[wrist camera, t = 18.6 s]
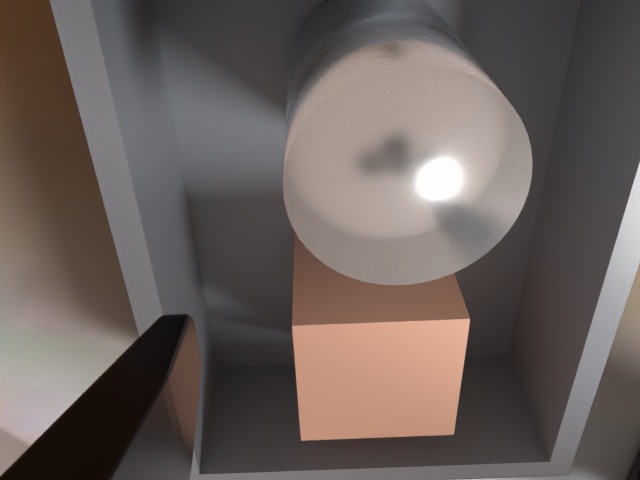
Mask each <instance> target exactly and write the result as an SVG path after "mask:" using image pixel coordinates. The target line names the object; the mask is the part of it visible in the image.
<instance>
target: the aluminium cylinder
mask: <svg viewBox="0 0 640 480" xmlns="http://www.w3.org/2000/svg"><path fill="white" fill-rule="evenodd" d="M532 165H533V162H532V151H531V145H530V141H529V137H528V134H527V131H526V129H525V127H524V124H523V122H522V120H521V118H520V117H519V115H518V114H517V112H516V111H515V109H514V108H513V106H512V105H511V104H510V103H509V101H508V100H507V99H506V98H505V96H504V95H503V94H502V92H501V91H500V90H499V89H498V87H497V86H496V85H495V84H494V82H493V81H492V80H491V79H490V77H489V76H488V75H487V74H486V72H485V71H484V70H483V69H482V67H481V66H480V65H479V64H478V62H477V61H476V60H475V58H474V57H473V56H472V55H471V53H470V52H469V51H468V50H467V48H466V47H465V46H464V45H463V43H462V42H461V41H460V40H459V38H458V37H457V36H456V35H455V33H454V32H453V31H452V30H451V28H450V27H449V26H448V24H447V23H446V22H445V21H444V19H443V18H442V17H441V16H440V14H439V13H438V12H437V11H436V10H435V9H434V8H433V7H432V6H431V5H430V4H429V3H428V2H427V1H425V0H326V1H324V2H323V3H322V4H321V5H320V6H318V7H317V8H316V9H315V10H314V11H313V12H312V13H311V14H310V15H309V17H308V18H307V19H306V20H305V22H304V23H303V25H302V26H301V28H300V30H299V32H298V33H297V35H296V37H295V40H294V43H293V45H292V48H291V52H290V57H289V65H288V82H287V104H286V127H285V149H284V172H283V194H284V202H285V207H286V212H287V215H288V217H289V220H290V223H291V225H292V227H293V229H294V231H295V233H296V234H297V236H298V238H299V239H300V240H301V242H302V243H303V244H304V246H305V247H306V248H307V249H308V250H309V251H310V252H311V253H312V254H313V255H314V256H315V257H316V258H317V259H319V260H320V261H321V262H322V263H324V264H325V265H326V266H328V267H330V268H332V269H333V270H335V271H337V272H339V273H341V274H343V275H346V276H348V277H350V278H353V279H357V280H360V281H363V282H368V283H374V284H381V285H410V284H418V283H424V282H428V281H432V280H436V279H439V278H442V277H445V276H448V275H450V274H453V273H455V272H457V271H459V270H461V269H463V268H465V267H467V266H468V265H470V264H472V263H473V262H475V261H477V260H478V259H479V258H481V257H482V256H483V255H485V254H486V253H488V252H489V251H490V250H491V249H492V248H493V247H494V246H495V245H496V244H497V243H498V242H499V241H500V240H501V239H502V238H503V237H504V236H505V235H506V233H507V232H508V231H509V230H510V228H511V227H512V225H513V224H514V222H515V221H516V219H517V218H518V216H519V214H520V212H521V210H522V208H523V206H524V204H525V201H526V198H527V195H528V192H529V188H530V183H531V178H532Z"/></svg>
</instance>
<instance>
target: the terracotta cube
mask: <svg viewBox="0 0 640 480" xmlns="http://www.w3.org/2000/svg"><path fill="white" fill-rule="evenodd" d="M469 325H470V317H469V314H468V311H467V308H466V305H465V302H464V299H463V297H462V294H461V291H460V288H459V285H458V282H457V279H456V276H455V274H454V273H453V274H450V275H448V276H445V277H442V278H439V279H436V280H432V281H428V282H424V283H418V284H410V285H381V284H374V283H368V282H363V281H360V280H357V279H353V278H350V277H348V276H346V275H343V274H341V273H339V272H337V271H335V270H333V269H332V268H330V267H328V266H326V265H325V264H324V263H322V262H321V261H320V260H319V259H317V258H316V257H315V256H314V255H313V254H312V253H311V252H310V251H309V250H308V249H307V248H306V247H305V246H304V244H303V243H302V242H301V240H300V239H299V238H298V236H297V234H296V233H295V234H294V272H293V309H292V332H293V344H294V357H295V370H296V383H297V396H298V408H299V421H300V434H301V441H305V440H331V439H357V438H382V437H408V436H434V435H454V430H455V423H456V416H457V409H458V402H459V395H460V388H461V381H462V374H463V367H464V360H465V353H466V346H467V339H468V332H469Z"/></svg>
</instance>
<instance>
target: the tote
mask: <svg viewBox="0 0 640 480" xmlns="http://www.w3.org/2000/svg"><path fill="white" fill-rule="evenodd" d="M324 1H326V0H50V4H51V8H52V11H53V15H54V19H55V23H56V26H57V30H58V34H59V38H60V41H61V45H62V49H63V53H64V56H65V60H66V64H67V68H68V71H69V75H70V79H71V83H72V87H73V90H74V94H75V98H76V102H77V105H78V109H79V113H80V117H81V120H82V124H83V128H84V132H85V135H86V139H87V143H88V147H89V150H90V154H91V158H92V162H93V165H94V169H95V173H96V177H97V180H98V184H99V188H100V192H101V195H102V199H103V203H104V207H105V210H106V214H107V218H108V222H109V225H110V229H111V233H112V237H113V240H114V244H115V248H116V252H117V255H118V259H119V263H120V267H121V270H122V274H123V278H124V282H125V285H126V289H127V293H128V297H129V300H130V304H131V308H132V312H133V316H134V319H135V323H136V327H137V331H138V334H139V337H140V336H141V335H142V334H143V333H144V332H145V331H146V330H147V329H148V328H149V327H150V326H151V325H152V324H153V323H154V322H155V321H156V320H157V319H158V318H159V317H160V316H162V315H166V314H189V315H191V316H192V318H193V320H194V324H195V329H196V335H197V340H198V345H199V350H200V355H201V378H200V388H199V399H198V409H197V420H196V430H195V441H194V451H193V460H192V468H191V475H190V480H453V479H481V478H509V477H536V476H564V475H569V472H570V469H571V466H572V463H573V460H574V457H575V454H576V451H577V448H578V445H579V442H580V439H581V436H582V433H583V430H584V427H585V424H586V421H587V418H588V416H589V413H590V410H591V407H592V404H593V401H594V398H595V395H596V392H597V389H598V386H599V383H600V380H601V377H602V374H603V371H604V368H605V365H606V362H607V359H608V356H609V353H610V350H611V347H612V344H613V341H614V338H615V335H616V332H617V329H618V326H619V323H620V320H621V317H622V314H623V311H624V308H625V305H626V302H627V299H628V296H629V293H630V290H631V287H632V284H633V281H634V278H635V275H636V272H637V269H638V266H639V263H640V0H425V1H427V2H428V3H429V4H430V5H431V6H432V7H433V8H434V9H435V10H436V11H437V12H438V13H439V14H440V16H441V17H442V18H443V19H444V21H445V22H446V23H447V24H448V26H449V27H450V28H451V30H452V31H453V32H454V33H455V35H456V36H457V37H458V38H459V40H460V41H461V42H462V43H463V45H464V46H465V47H466V48H467V50H468V51H469V52H470V53H471V55H472V56H473V57H474V58H475V60H476V61H477V62H478V64H479V65H480V66H481V67H482V69H483V70H484V71H485V72H486V74H487V75H488V76H489V77H490V79H491V80H492V81H493V82H494V84H495V85H496V86H497V87H498V89H499V90H500V91H501V92H502V94H503V95H504V96H505V98H506V99H507V100H508V101H509V103H510V104H511V105H512V106H513V108H514V109H515V111H516V112H517V114H518V115H519V117H520V118H521V120H522V122H523V124H524V127H525V129H526V131H527V134H528V137H529V141H530V145H531V151H532V162H533V165H532V178H531V183H530V188H529V192H528V195H527V198H526V201H525V204H524V206H523V208H522V210H521V212H520V214H519V216H518V218H517V219H516V221H515V222H514V224H513V225H512V227H511V228H510V230H509V231H508V232H507V233H506V235H505V236H504V237H503V238H502V239H501V240H500V241H499V242H498V243H497V244H496V245H495V246H494V247H493V248H492V249H491V250H490V251H489V252H488V253H486V254H485V255H483V256H482V257H481V258H479V259H478V260H477V261H475V262H473V263H472V264H470V265H468V266H467V267H465V268H463V269H461V270H459V271H457V272H455V273H454V274H455V276H456V279H457V282H458V285H459V288H460V291H461V294H462V297H463V299H464V302H465V305H466V308H467V311H468V314H469V317H470V325H469V332H468V339H467V346H466V353H465V360H464V367H463V374H462V381H461V388H460V395H459V402H458V409H457V416H456V423H455V430H454V435H434V436H408V437H382V438H357V439H331V440H305V441H301V434H300V421H299V408H298V396H297V383H296V370H295V357H294V344H293V332H292V309H293V272H294V234H295V231H294V229H293V227H292V225H291V223H290V220H289V217H288V215H287V212H286V207H285V202H284V194H283V172H284V149H285V127H286V104H287V82H288V65H289V57H290V52H291V48H292V45H293V43H294V40H295V37H296V35H297V33H298V32H299V30H300V28H301V26H302V25H303V23H304V22H305V20H306V19H307V18H308V17H309V15H310V14H311V13H312V12H313V11H314V10H315V9H316V8H317V7H318V6H320V5H321V4H322V3H323V2H324Z"/></svg>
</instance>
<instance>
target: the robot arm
mask: <svg viewBox="0 0 640 480" xmlns="http://www.w3.org/2000/svg"><path fill="white" fill-rule="evenodd" d="M200 378H201V355H200V350H199V345H198V340H197V335H196V329H195V324H194V320H193V318H192V316H191V315H189V314H166V315H162V316H160V317H159V318H158V319H157V320H156V321H155V322H154V323H153V324H152V325H151V326H150V327H149V328H148V329H147V330H146V331H145V332H144V333H143V334H142V335H141V336H140V337H139V338H138V339H137V340H136V341H135V342H134V343H133V344H132V345H131V346H130V347H129V348H128V349H127V350H126V351H125V352H124V353H123V354H122V355H121V356H120V357H119V358H118V359H117V360H116V361H115V362H114V363H113V364H112V365H111V366H110V367H109V368H108V369H107V370H106V371H105V372H104V373H103V374H102V375H101V376H100V377H99V378H98V379H97V380H96V381H95V382H94V383H93V384H92V385H91V386H90V387H89V388H88V389H87V390H86V391H85V392H84V393H83V394H82V395H81V396H80V397H79V398H78V399H77V400H76V401H75V402H74V403H73V404H72V405H71V406H70V407H69V408H68V409H67V410H66V411H65V412H64V413H63V414H62V415H61V416H60V417H59V418H58V419H57V420H56V421H55V422H54V423H53V424H52V425H51V426H50V427H49V428H48V429H47V430H46V431H45V432H44V433H43V434H42V435H41V436H40V437H39V438H38V439H37V440H36V441H35V442H34V443H33V444H32V445H31V446H30V447H29V448H28V449H27V450H26V451H25V452H24V453H23V454H22V455H21V456H20V457H19V458H18V459H17V460H16V461H15V462H14V463H13V464H12V465H11V466H10V467H9V468H8V469H7V470H6V471H5V472H4V473H3V474H2V475H1V476H0V480H190V475H191V468H192V460H193V451H194V441H195V430H196V420H197V409H198V399H199V388H200ZM628 480H640V453H639V456H638V458H637V460H636V463H635V465H634V468H633V470H632V472H631V475H630V477H629V479H628Z"/></svg>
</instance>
